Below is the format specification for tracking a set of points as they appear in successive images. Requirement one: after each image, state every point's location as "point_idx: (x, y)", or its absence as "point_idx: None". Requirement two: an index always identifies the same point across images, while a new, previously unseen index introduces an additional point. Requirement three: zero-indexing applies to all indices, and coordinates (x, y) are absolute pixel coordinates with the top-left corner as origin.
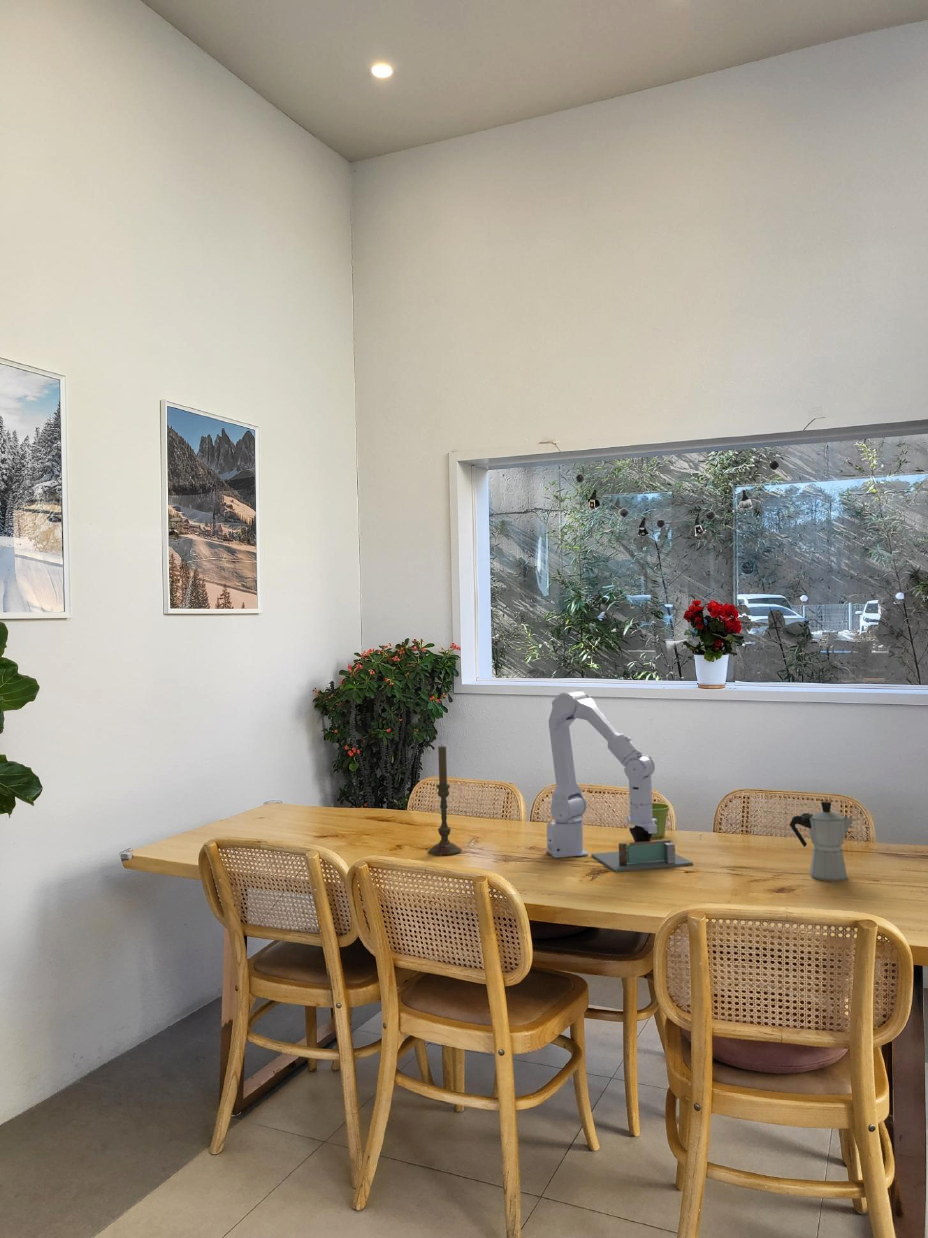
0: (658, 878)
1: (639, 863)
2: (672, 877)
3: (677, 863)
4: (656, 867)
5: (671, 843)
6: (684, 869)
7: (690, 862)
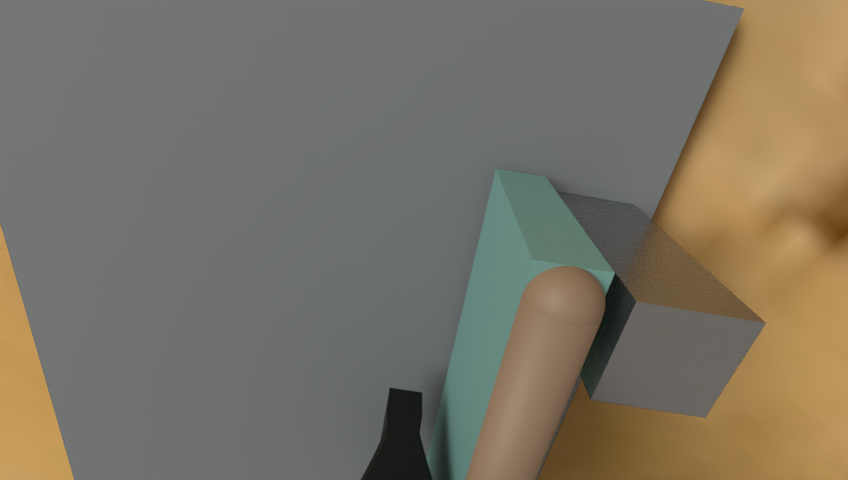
0: (776, 464)
1: None
2: (841, 394)
3: (646, 185)
4: None
5: (684, 332)
6: (768, 193)
7: (720, 29)
